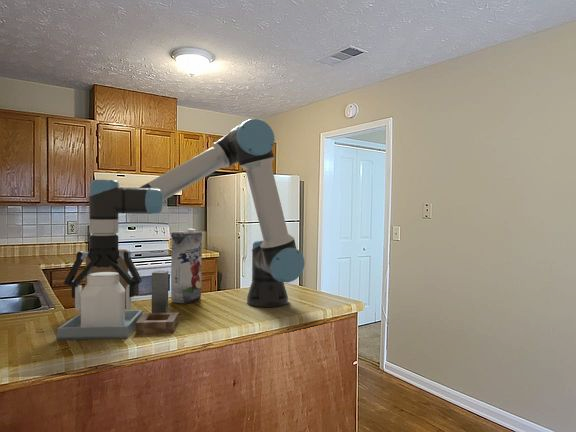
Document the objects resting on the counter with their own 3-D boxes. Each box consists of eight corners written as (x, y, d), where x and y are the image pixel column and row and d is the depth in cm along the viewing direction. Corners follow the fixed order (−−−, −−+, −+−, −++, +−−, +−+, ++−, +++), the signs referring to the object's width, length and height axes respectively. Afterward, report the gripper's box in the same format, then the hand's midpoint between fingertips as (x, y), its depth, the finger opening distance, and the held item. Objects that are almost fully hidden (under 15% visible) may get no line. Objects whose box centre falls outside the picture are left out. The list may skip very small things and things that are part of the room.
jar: (120, 319, 121) (120, 270, 121) (128, 327, 113) (129, 274, 113) (77, 325, 114) (77, 273, 114) (83, 334, 106) (84, 278, 106)
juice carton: (167, 302, 146) (167, 228, 145) (185, 296, 155) (185, 227, 155) (187, 305, 142) (188, 229, 142) (204, 299, 152) (205, 228, 151)
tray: (142, 319, 124) (142, 309, 123) (127, 338, 106) (127, 326, 106) (82, 320, 121) (82, 311, 121) (56, 340, 104) (56, 328, 104)
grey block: (168, 312, 132) (168, 270, 131) (165, 316, 127) (166, 272, 127) (154, 313, 131) (154, 270, 131) (151, 316, 127) (151, 272, 126)
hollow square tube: (178, 322, 121) (178, 312, 121) (173, 332, 111) (173, 321, 111) (144, 323, 120) (144, 313, 120) (135, 333, 110) (135, 322, 110)
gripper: (152, 233, 118) (151, 304, 119) (62, 233, 115) (62, 306, 116) (146, 235, 111) (146, 311, 111) (50, 235, 108) (50, 313, 108)
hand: (103, 309), depth 114 cm, fingers open, 13 cm apart
